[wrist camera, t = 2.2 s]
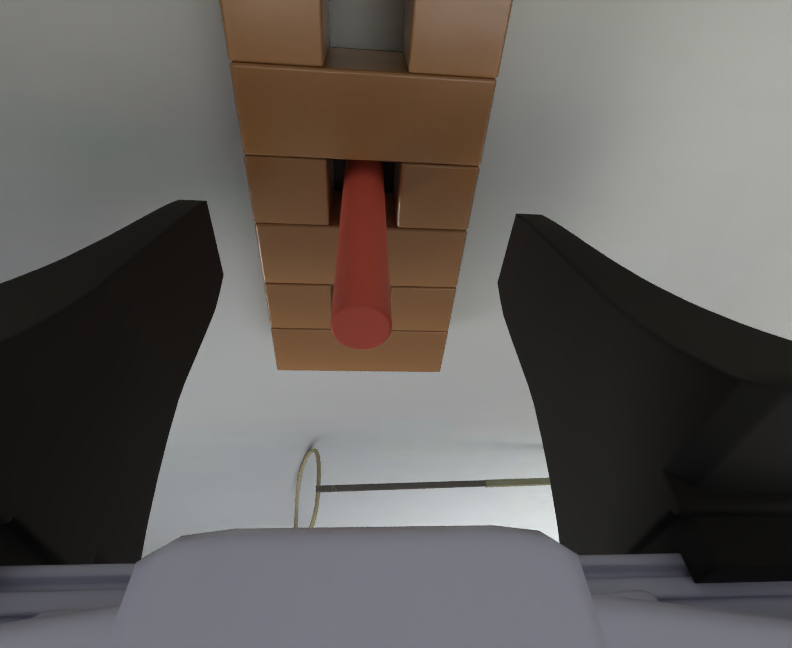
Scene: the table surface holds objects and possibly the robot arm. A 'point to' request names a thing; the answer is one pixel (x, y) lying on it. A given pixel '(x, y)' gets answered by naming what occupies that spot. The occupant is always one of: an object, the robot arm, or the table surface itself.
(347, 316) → the red cylindrical rod
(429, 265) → the caddy
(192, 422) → the table surface
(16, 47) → the table surface
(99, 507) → the robot arm
